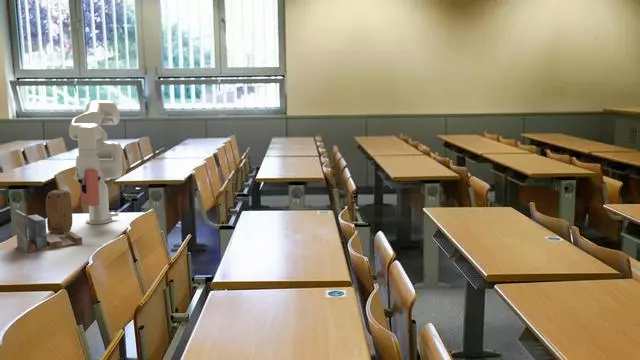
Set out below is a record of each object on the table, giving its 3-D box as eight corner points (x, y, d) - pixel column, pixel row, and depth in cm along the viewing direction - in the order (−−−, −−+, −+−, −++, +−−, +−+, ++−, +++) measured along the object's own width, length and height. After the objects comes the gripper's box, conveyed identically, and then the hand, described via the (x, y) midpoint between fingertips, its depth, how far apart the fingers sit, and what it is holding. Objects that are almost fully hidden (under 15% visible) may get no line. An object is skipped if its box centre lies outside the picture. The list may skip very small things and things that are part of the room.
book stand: (71, 237, 276) (69, 203, 273) (82, 244, 266) (80, 208, 263) (17, 246, 261) (14, 209, 258) (26, 253, 251) (24, 215, 248)
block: (74, 231, 288) (72, 190, 285) (64, 234, 281) (61, 192, 278) (55, 229, 291) (53, 188, 288) (44, 233, 284) (42, 191, 281)
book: (89, 200, 284) (87, 167, 281) (99, 205, 275) (97, 170, 272) (81, 201, 281) (79, 167, 278) (90, 206, 273) (88, 171, 270)
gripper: (102, 150, 282) (104, 188, 286) (65, 153, 271) (68, 193, 275) (108, 152, 277) (110, 191, 280) (71, 155, 266) (74, 195, 269)
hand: (89, 191), depth 277 cm, fingers closed on book, 4 cm apart
